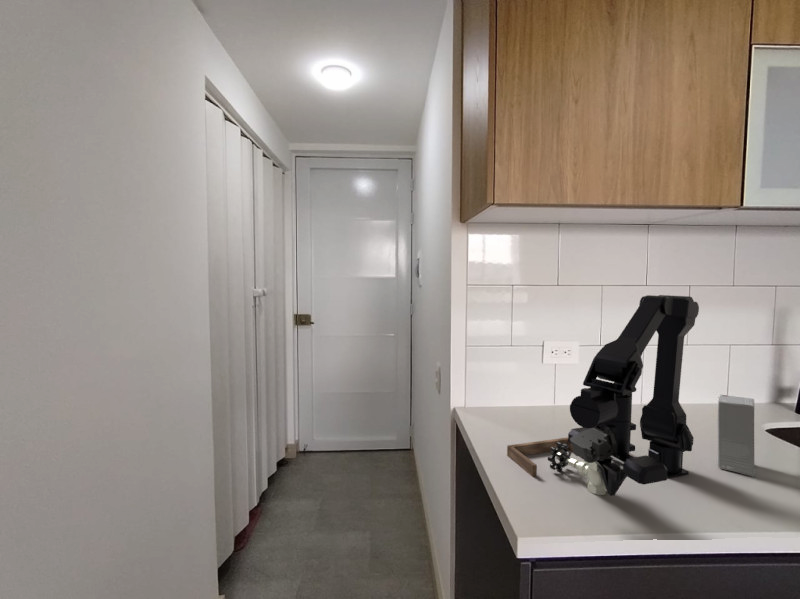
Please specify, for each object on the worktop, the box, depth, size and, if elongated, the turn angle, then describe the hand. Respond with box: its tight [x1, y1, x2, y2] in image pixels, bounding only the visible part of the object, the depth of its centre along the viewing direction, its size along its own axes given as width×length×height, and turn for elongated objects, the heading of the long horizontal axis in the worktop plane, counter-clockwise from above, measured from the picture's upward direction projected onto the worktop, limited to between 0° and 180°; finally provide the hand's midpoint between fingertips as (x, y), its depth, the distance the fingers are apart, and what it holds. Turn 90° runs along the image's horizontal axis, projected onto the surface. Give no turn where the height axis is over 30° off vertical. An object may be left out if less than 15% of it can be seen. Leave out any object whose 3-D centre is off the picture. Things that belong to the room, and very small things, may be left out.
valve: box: [547, 442, 607, 496], centre depth 85 cm, size 7×7×12 cm
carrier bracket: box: [506, 436, 574, 477], centre depth 95 cm, size 18×10×2 cm, turn 106°
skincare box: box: [717, 394, 756, 478], centre depth 92 cm, size 8×7×16 cm
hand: (611, 494), depth 78 cm, fingers closed
